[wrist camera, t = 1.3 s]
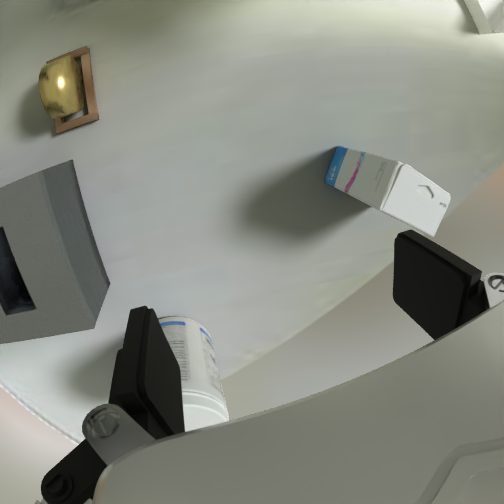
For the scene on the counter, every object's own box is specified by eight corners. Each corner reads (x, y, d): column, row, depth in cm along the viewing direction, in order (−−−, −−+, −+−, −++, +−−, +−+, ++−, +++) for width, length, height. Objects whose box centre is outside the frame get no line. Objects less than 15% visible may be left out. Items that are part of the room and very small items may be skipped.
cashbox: (-23, 199, 26) (-65, 221, 17) (72, 159, 28) (37, 172, 20) (17, 304, 32) (-10, 345, 24) (110, 283, 34) (93, 328, 26)
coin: (66, 119, 26) (43, 119, 20) (59, 69, 23) (36, 60, 18) (87, 111, 26) (68, 109, 21) (80, 61, 24) (61, 49, 18)
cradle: (49, 63, 23) (46, 62, 22) (89, 48, 23) (86, 46, 22) (59, 133, 26) (56, 133, 25) (99, 119, 27) (96, 119, 26)
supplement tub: (133, 357, 39) (125, 445, 25) (152, 303, 36) (144, 393, 23) (198, 374, 42) (210, 460, 29) (224, 325, 39) (247, 413, 26)
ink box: (321, 183, 35) (378, 211, 24) (336, 144, 33) (400, 157, 23) (375, 207, 38) (436, 239, 27) (389, 172, 36) (454, 194, 25)
